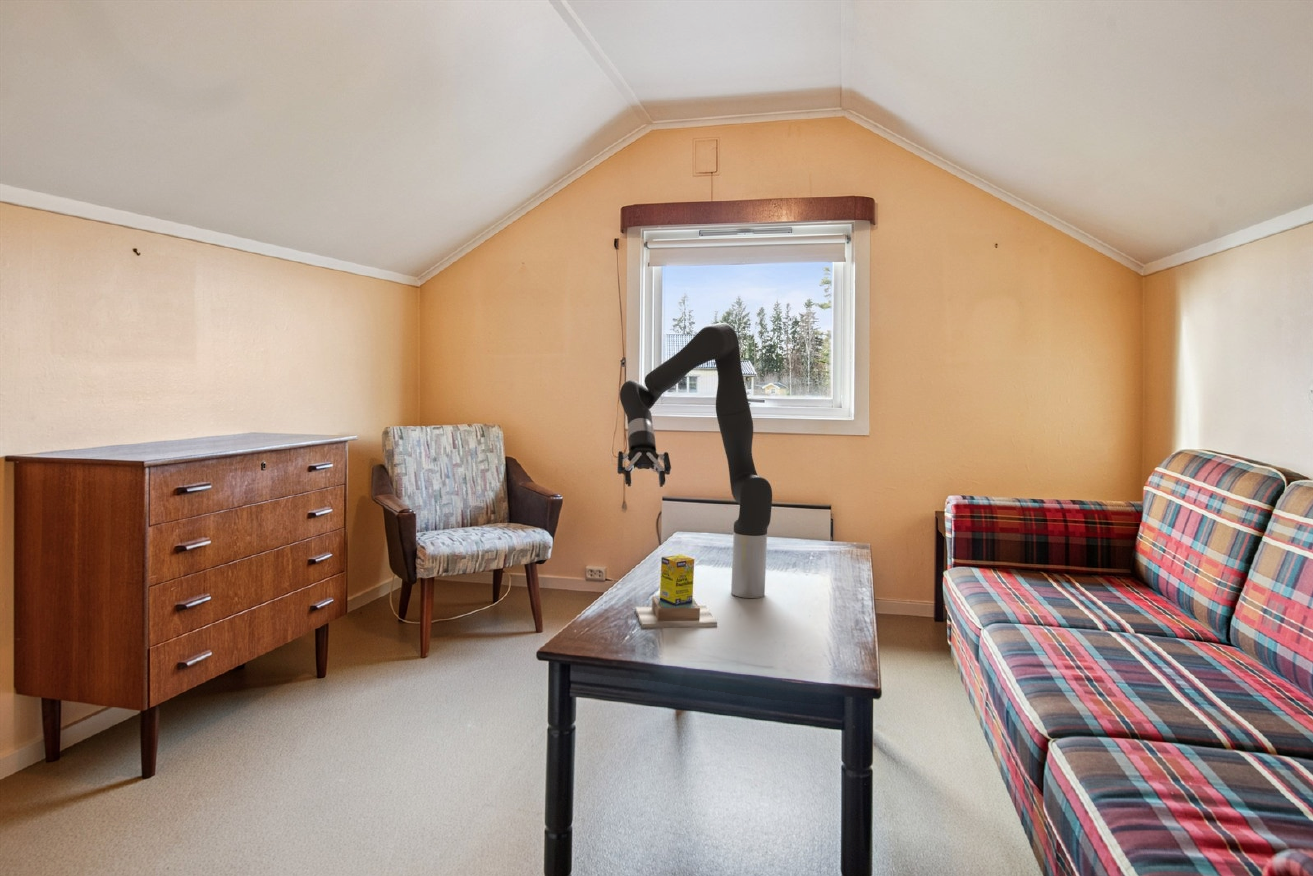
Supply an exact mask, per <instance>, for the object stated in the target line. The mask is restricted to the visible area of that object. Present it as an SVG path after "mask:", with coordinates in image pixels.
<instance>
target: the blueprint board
mask: <svg viewBox="0 0 1313 876" xmlns="http://www.w3.org/2000/svg"><path fill="white" fill-rule="evenodd" d="M651 601H652V602H651V603H652V605H651V606H635V613H636V616H637V617H638V620H639V623H640V626H641V628H642V629H652V628H653V629H655V628H656V629H657V628H659V629H661V628H662V629H663V628H701V627H702V628H704V627H707V628H708V627H710V628H711V627H713V628H714V627H718V621H717V620H716V619H715V617H714V616H713V614H712V612H710V610H709V609H708V607H707V606H706V605H698V603H697V602H696V601H695V599H694V598H693V600H692V603H686V604H681V605H677V606H673V605H671V604H668V603H666V602H663V601H661V600H660V595H659V596H652V599H651Z"/></svg>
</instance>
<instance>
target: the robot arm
mask: <svg viewBox="0 0 1313 876" xmlns="http://www.w3.org/2000/svg"><path fill="white" fill-rule="evenodd" d="M713 360H714V362H715V367H716V372H717V388H716V396H715V413H716V418H717V423H718V428H719V430H720V436H721V439H722V440H721V441H722V443H723V444H722V445H723V448H724V452H725V455H726V459H727V464H728V472H729V481H730V482H729V484H730V491H731V495H732V497H733V499H734V501H735V502H736V503H737V504H738V505H739V512H738V513H739V514H738V517H737V519H736V520H735V521H734V522H733V534H732V535H733V539H732V540H733V541H732V562H731V563H732V566H731V570H732V571H731V584H730V585H731V587H730V588H731V590H730V592H731V593H730V594H732V595H733V596H735V597H739V598H744V599H757V598H758V599H759V598H762V597H764V596H765V592H766V591H765V590H766V570H767V566H766V565H767V546H768V545H767V544H768V543H767V542H768V541H767V540H768V537H767V536H768V528H769V526H770V523H771V517H772V505H773V489H772V485H771V483H770V482H769V481H768V480H767V479H766V478H764V477H762V476H759V475H758V473H757V470H756V467H755V463H754V458H753V452H752V451H753V450H752V449H753V448H752V447H753V438H754V421H753V417H752V410H751V407H750V403H749V398H748V393H747V389H746V384H745V381H744V374H743V370H742V359H741V351H740V343H739V338H738V333H737V332H736V330H735V329H734V328H733V326H731V325H730V324H728V323H727V322H719V323H713V324H710V325H706V326H704V327H703V328H701V329H700V330H699V331H698V332H697V333H696V334H695V336H694V337H692V339H691V340H690V341H688V343H686V345H685V346H684V347H682V348H681V349H680V350H678V352H677V353H676V354H674V355H673V356H671V357H670V358H669V359H667V360H665V361H664V362H663V363H660V364H659V366H657V367H655V368H654V369H652V370H651V371H650V372H649V373H647V375H646V376H645V377H644V384H642V383H639V382H638V381H636V380H633V379H631V380H626V382H624V383H622V386H621V387H620V391H619V399H620V400H619V401H620V403H621V407H622V408H623V411H624V413H625V416H626V419H627V438H626V439H627V442H628V443H627V444H628V453H624V452H623V451H622V450H621V451H620V450H619V451H618V452H617V453H618V454H617V474H618V475H621V474H622V475H624V483H625V485H627V487H631V486H632V485H631V484H632V472H634V470H635V469H638V470H643V469H644V470H650V469H651V470H652V472H653V473H656V474H657V475H658V482H659V483H658V485H659V487H660V488H663V486H665V484H666V475H670V474H671V469H672V465H671V459H670V455H669V452H667V451H665V452H663V454H659V453H658V451H657V446H656V438H655V437H656V436H655V429H654V425H653V419H652V418H653V417H652V412H651V409H652V408H653V407H654V405H655V404H656V402H657V401H658V400H659V399H660V398H661V397H662V395H663V394H664V393H666V392H667V391H669V390H670V389H671V388H673V387H674V386H676V385H677V384H678V383H680V381H682V380H683V379H684V378H685V377H686V376H687V375H688V374H689V373H690V372H691V371H693V370H694V369H696V368H697V367H699V366H701V365H704V364H706V363H708V362H710V361H713ZM626 460H627V461H629V463H628V465H626V466H624V462H625V461H626ZM659 460H660V461H659ZM660 463H663V466H662V465H661V464H660Z"/></svg>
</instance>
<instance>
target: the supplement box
mask: <svg viewBox="0 0 1313 876" xmlns="http://www.w3.org/2000/svg"><path fill="white" fill-rule="evenodd" d="M660 560H661V561H660V562H661V564H660V583H659V584H660V585H659V587H660V589H659V596H660V600H661V601H663V602H666V603H668V604H671V605H673V606H677V605H681V604H686V603H692V600H693V599H694V598H693V597H694V596H693V595H694V574H695V573H694V572H695V571H694V570H695V558H693V557H689V556H687V555H683V554H674V555H669V556H661V559H660Z"/></svg>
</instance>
